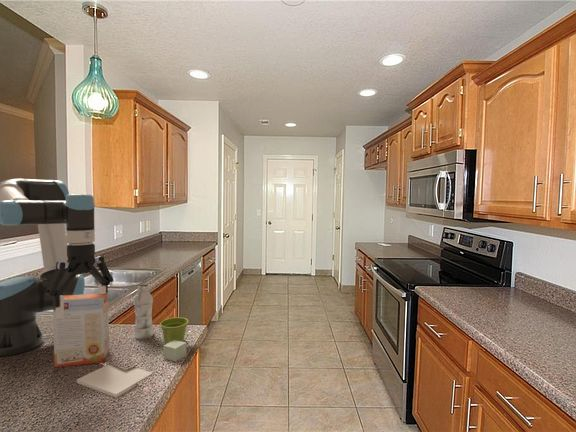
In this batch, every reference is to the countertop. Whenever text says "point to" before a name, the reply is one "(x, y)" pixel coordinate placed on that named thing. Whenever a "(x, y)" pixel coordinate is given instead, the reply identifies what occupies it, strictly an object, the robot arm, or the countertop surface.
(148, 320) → the plastic bottle
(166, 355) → the sage block
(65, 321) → the cracker box
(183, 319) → the plant pot
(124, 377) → the board
